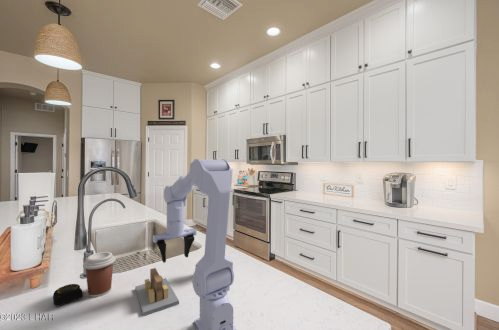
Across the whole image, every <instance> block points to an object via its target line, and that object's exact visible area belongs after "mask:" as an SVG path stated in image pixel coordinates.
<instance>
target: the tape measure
mask: <svg viewBox="0 0 499 330" xmlns="http://www.w3.org/2000/svg"><path fill="white" fill-rule="evenodd" d="M52 295H53V296H52V300H53V305H54V306H56V307H58V306H63V305H64V304H69V303H71V302H73V301H77V300H79V299H82V298H83V296H84V294H83V289H82V288H81V286H80V285H79V284H78V283H71V284H66V285H63V286H60V287H59V288H57V289H56V290H55V291H54V292H53V294H52Z"/></svg>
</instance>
